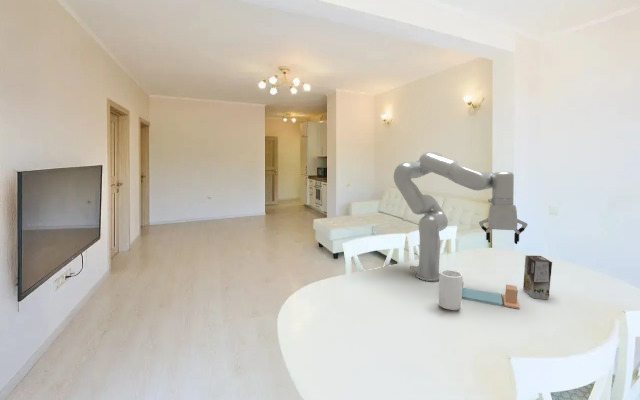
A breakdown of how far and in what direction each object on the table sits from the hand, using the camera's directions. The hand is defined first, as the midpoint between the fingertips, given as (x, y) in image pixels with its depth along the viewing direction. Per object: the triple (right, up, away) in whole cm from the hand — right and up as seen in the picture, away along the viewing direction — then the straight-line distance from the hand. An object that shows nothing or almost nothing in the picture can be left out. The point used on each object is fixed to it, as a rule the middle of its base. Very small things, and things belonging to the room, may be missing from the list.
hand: (502, 242), depth 126 cm
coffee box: (+17, -23, +4) cm, 29 cm away
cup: (-25, -25, -7) cm, 36 cm away
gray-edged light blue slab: (-9, -23, +2) cm, 25 cm away
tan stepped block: (+1, -24, -3) cm, 24 cm away
